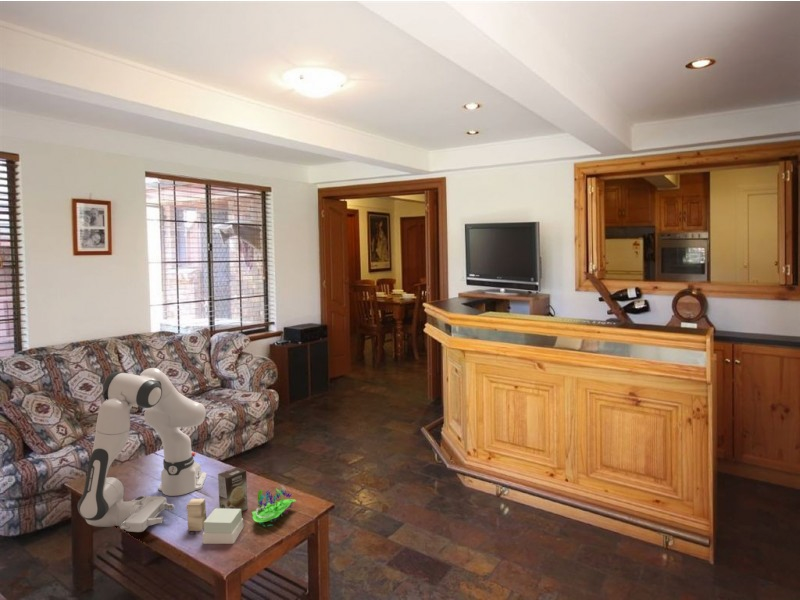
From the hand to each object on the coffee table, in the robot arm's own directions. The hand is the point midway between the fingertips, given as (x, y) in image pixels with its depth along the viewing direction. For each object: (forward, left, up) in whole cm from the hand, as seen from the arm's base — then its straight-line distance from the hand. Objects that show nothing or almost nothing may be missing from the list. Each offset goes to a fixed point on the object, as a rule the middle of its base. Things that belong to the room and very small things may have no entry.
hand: (167, 513), depth 202 cm
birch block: (0, +11, -6) cm, 12 cm away
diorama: (-6, +38, -6) cm, 39 cm away
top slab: (+6, +23, -2) cm, 24 cm away
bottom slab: (+6, +23, -6) cm, 24 cm away
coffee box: (-12, +21, -6) cm, 25 cm away
